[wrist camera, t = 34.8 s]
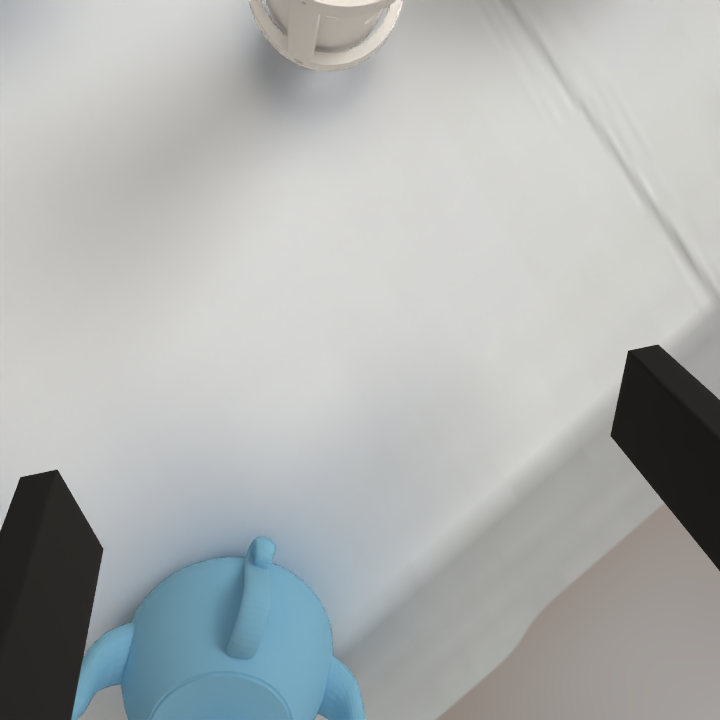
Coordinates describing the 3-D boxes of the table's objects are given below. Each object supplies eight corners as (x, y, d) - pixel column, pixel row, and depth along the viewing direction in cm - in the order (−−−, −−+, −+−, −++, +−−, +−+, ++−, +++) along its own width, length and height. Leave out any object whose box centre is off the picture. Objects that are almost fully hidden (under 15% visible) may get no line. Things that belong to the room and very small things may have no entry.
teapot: (278, 491, 38) (276, 585, 28) (383, 661, 42) (413, 796, 32) (78, 600, 38) (4, 732, 28) (200, 760, 42) (173, 927, 32)
